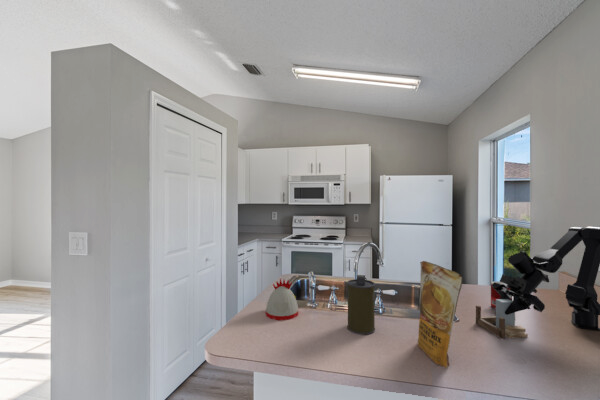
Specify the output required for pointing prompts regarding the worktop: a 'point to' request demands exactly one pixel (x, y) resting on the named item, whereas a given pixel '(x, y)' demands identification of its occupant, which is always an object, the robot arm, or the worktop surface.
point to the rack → (490, 323)
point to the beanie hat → (282, 302)
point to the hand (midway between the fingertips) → (501, 312)
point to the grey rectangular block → (500, 312)
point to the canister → (361, 306)
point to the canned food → (495, 294)
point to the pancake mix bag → (437, 310)
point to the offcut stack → (515, 332)
